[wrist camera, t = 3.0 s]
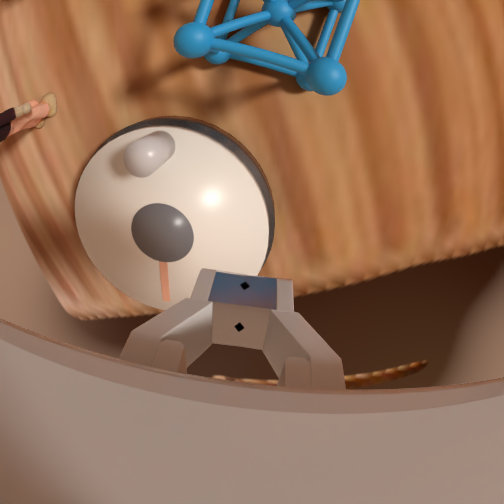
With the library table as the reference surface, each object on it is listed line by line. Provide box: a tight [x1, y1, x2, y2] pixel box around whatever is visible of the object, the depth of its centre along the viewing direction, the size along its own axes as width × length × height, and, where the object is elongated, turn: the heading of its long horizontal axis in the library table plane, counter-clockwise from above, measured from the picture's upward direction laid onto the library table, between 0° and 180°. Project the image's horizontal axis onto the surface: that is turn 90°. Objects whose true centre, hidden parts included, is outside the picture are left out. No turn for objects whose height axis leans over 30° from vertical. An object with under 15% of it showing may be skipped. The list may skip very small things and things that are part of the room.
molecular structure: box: [174, 0, 360, 95], centre depth 15 cm, size 10×10×10 cm
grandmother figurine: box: [0, 93, 56, 142], centre depth 18 cm, size 8×4×13 cm, turn 122°
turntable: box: [75, 125, 269, 310], centre depth 25 cm, size 19×19×6 cm
